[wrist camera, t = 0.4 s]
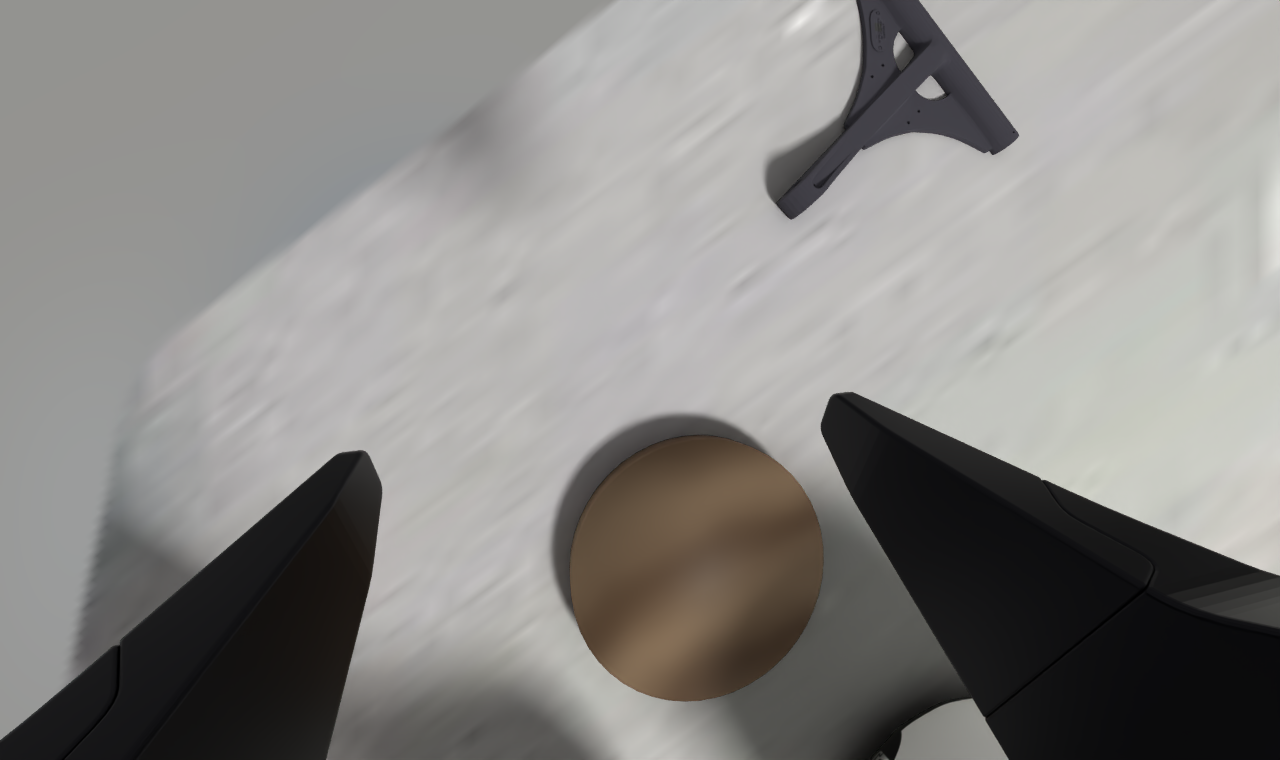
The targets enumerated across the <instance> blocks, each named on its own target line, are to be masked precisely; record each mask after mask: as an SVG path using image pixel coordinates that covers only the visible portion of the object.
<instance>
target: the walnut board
mask: <svg viewBox="0 0 1280 760" xmlns="http://www.w3.org/2000/svg"><path fill="white" fill-rule="evenodd" d="M823 563H824V562H823V543H822V536H821V530H820V527H819V523H818V519H817V516H816V513H815V511H814V509H813V506H812V504H811V502H810V500H809V498H808V497H807V495H806V493H805V492H804V490H803V488H802V487H801V486H800V484H799V483H798V482H797V481H796V479H795V478H794V477H793V476H792V475H791V474H790V473H789V472H788V471H787V470H786V469H785V468H784V467H783V466H782V465H781V464H779V463H778V462H777V461H775V460H774V459H772V458H771V457H770V456H768V455H766V454H764V453H762V452H760V451H758V450H756V449H754V448H752V447H749V446H747V445H745V444H742V443H739V442H736V441H733V440H730V439H727V438H722V437H717V436H707V435H692V436H681V437H677V438H672V439H667V440H664V441H661V442H659V443H656V444H653V445H651V446H649V447H647V448H645V449H643V450H641V451H639V452H637V453H635V454H634V455H632V456H631V457H629V458H628V459H627V460H625V461H624V462H622V463H621V464H620V465H619V466H618V467H617V468H615V469H614V470H613V471H612V472H611V473H610V474H609V475H608V476H607V477H606V478H605V479H604V481H603V482H602V483H601V484H600V485H599V486H598V488H597V489H596V491H595V492H594V494H593V495H592V497H591V498H590V499H589V501H588V503H587V505H586V507H585V509H584V511H583V513H582V515H581V517H580V519H579V522H578V525H577V528H576V531H575V533H574V538H573V543H572V547H571V555H570V567H569V568H570V586H571V597H572V603H573V608H574V613H575V617H576V620H577V623H578V626H579V629H580V632H581V634H582V636H583V638H584V640H585V642H586V644H587V646H588V648H589V649H590V650H591V652H592V653H593V655H594V656H595V657H596V659H597V660H598V661H599V662H600V663H601V665H602V666H603V667H604V668H605V669H606V670H607V671H608V672H609V673H610V674H612V675H613V676H614V677H616V678H617V679H618V680H619V681H621V682H622V683H624V684H625V685H627V686H629V687H631V688H633V689H634V690H636V691H638V692H641V693H644V694H646V695H649V696H652V697H656V698H660V699H665V700H672V701H701V700H706V699H711V698H716V697H720V696H723V695H726V694H729V693H732V692H734V691H736V690H739V689H741V688H743V687H745V686H747V685H749V684H750V683H752V682H754V681H755V680H757V679H758V678H760V677H762V676H763V675H764V674H765V673H767V672H768V671H769V670H770V669H772V668H773V667H774V666H775V665H776V664H777V663H778V662H779V661H780V660H781V659H782V658H783V657H784V656H785V655H786V654H787V653H788V652H789V650H790V649H791V648H792V647H793V645H794V644H795V643H796V641H797V640H798V639H799V637H800V635H801V634H802V632H803V630H804V629H805V627H806V625H807V623H808V621H809V619H810V617H811V615H812V613H813V610H814V607H815V604H816V601H817V598H818V595H819V591H820V586H821V581H822V574H823Z"/></svg>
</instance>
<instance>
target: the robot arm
mask: <svg viewBox="0 0 1280 760" xmlns="http://www.w3.org/2000/svg"><path fill="white" fill-rule="evenodd" d="M821 432H822V435H823V437H824V439H825V442H826V444H827V446H828V448H829V450H830V452H831V454H832V457H833V459H834V461H835V463H836V465H837V467H838V469H839V472H840V474H841V476H842V478H843V480H844V482H845V484H846V486H847V488H848V490H849V492H850V494H851V496H852V498H853V500H854V502H855V503H856V505H857V507H858V508H859V510H860V512H861V513H862V515H863V517H864V518H865V520H866V522H867V523H868V525H869V527H870V528H871V530H872V532H873V533H874V535H875V537H876V538H877V540H878V542H879V543H880V545H881V547H882V548H883V550H884V552H885V553H886V555H887V557H888V559H889V560H890V562H891V564H892V565H893V567H894V569H895V570H896V572H897V574H898V575H899V577H900V579H901V580H902V582H903V584H904V585H905V587H906V589H907V590H908V592H909V594H910V595H911V597H912V599H913V600H914V602H915V604H916V605H917V607H918V609H919V610H920V612H921V614H922V615H923V617H924V619H925V620H926V622H927V624H928V625H929V627H930V629H931V630H932V632H933V634H934V635H935V637H936V639H937V640H938V642H939V644H940V645H941V647H942V649H943V650H944V652H945V654H946V655H947V657H948V659H949V660H950V662H951V664H952V665H953V667H954V669H955V670H956V672H957V674H958V675H959V677H960V679H961V680H962V682H963V684H964V685H965V687H966V689H967V690H968V692H969V694H970V695H971V697H972V699H973V700H974V702H975V704H976V705H977V707H978V709H979V710H980V712H981V714H982V715H983V717H985V721H986V723H987V724H988V726H989V728H990V729H991V731H992V733H993V734H994V736H995V738H996V739H997V741H998V743H999V744H1000V746H1001V748H1002V749H1003V751H1004V753H1005V754H1006V756H1007V758H1008V759H1009V760H1280V576H1279V575H1276V574H1272V573H1269V572H1266V571H1263V570H1260V569H1257V568H1254V567H1252V566H1249V565H1246V564H1244V563H1241V562H1239V561H1236V560H1234V559H1231V558H1229V557H1226V556H1224V555H1222V554H1219V553H1217V552H1214V551H1212V550H1209V549H1207V548H1204V547H1202V546H1199V545H1197V544H1194V543H1192V542H1190V541H1187V540H1185V539H1182V538H1180V537H1177V536H1175V535H1172V534H1170V533H1167V532H1165V531H1162V530H1160V529H1157V528H1155V527H1153V526H1150V525H1148V524H1145V523H1143V522H1140V521H1138V520H1136V519H1133V518H1131V517H1128V516H1126V515H1124V514H1121V513H1119V512H1116V511H1114V510H1112V509H1109V508H1107V507H1104V506H1102V505H1100V504H1098V503H1095V502H1093V501H1091V500H1089V499H1086V498H1084V497H1082V496H1079V495H1077V494H1075V493H1073V492H1070V491H1068V490H1066V489H1064V488H1062V487H1059V486H1057V485H1055V484H1053V483H1051V482H1049V481H1046V480H1041V479H1040V478H1039V477H1037V476H1035V475H1033V474H1031V473H1029V472H1026V471H1024V470H1022V469H1020V468H1018V467H1016V466H1013V465H1011V464H1009V463H1007V462H1005V461H1002V460H1000V459H998V458H996V457H994V456H991V455H989V454H987V453H985V452H983V451H980V450H978V449H976V448H974V447H972V446H970V445H967V444H965V443H963V442H961V441H959V440H956V439H954V438H952V437H950V436H948V435H945V434H943V433H941V432H939V431H937V430H935V429H932V428H930V427H928V426H926V425H924V424H921V423H919V422H917V421H915V420H913V419H910V418H908V417H906V416H904V415H902V414H900V413H897V412H895V411H893V410H891V409H889V408H886V407H884V406H882V405H880V404H878V403H875V402H873V401H871V400H869V399H867V398H864V397H862V396H860V395H858V394H856V393H853V392H844V393H836V394H833V395H832V396H831V397H830V399H829V401H828V404H827V407H826V410H825V413H824V416H823V419H822V422H821ZM381 500H382V485H381V481H380V479H379V477H378V474H377V472H376V470H375V468H374V465H373V463H372V461H371V458H370V456H369V455H368V453H367V452H366V451H363V450H358V451H350V452H342V453H339V454H337V455H335V456H334V457H333V458H332V459H330V460H329V461H328V462H327V463H326V464H325V465H323V466H322V467H321V468H320V469H319V470H318V471H316V472H315V473H314V474H313V475H312V476H311V477H309V478H308V479H307V480H306V481H305V482H304V483H303V484H301V485H300V486H299V487H298V488H297V489H296V490H294V491H293V492H292V493H291V494H290V495H289V496H287V497H286V498H285V499H284V500H283V501H282V502H280V503H279V504H278V505H277V506H276V507H275V508H273V509H272V510H271V511H270V512H269V513H268V514H266V515H265V516H264V517H263V518H262V519H261V520H259V521H258V522H257V523H256V524H255V525H254V526H252V527H251V528H250V529H249V530H248V531H247V532H246V533H244V534H243V535H242V536H241V537H240V538H239V539H237V540H236V541H235V542H234V543H233V544H232V545H230V546H229V547H228V548H227V549H226V550H225V551H223V552H222V553H221V554H220V555H219V556H218V557H216V558H215V559H214V560H213V561H212V562H211V563H209V564H208V565H207V566H206V567H205V568H204V569H202V570H201V571H200V572H199V573H198V574H197V575H195V576H194V577H193V578H192V579H191V580H190V581H189V582H187V583H186V584H185V585H184V586H183V587H182V588H180V589H179V590H178V591H177V592H176V593H175V594H173V595H172V596H171V597H170V598H169V599H168V600H166V601H165V602H164V603H163V604H162V605H161V606H159V607H158V608H157V609H156V610H155V611H154V612H152V613H151V614H150V615H149V616H148V617H147V618H145V619H144V620H143V621H142V622H141V623H140V624H138V625H137V626H136V627H135V628H134V629H133V630H131V631H130V632H129V633H128V634H127V635H126V636H124V637H123V638H122V639H121V641H120V645H115V646H113V647H111V648H110V649H109V650H108V651H107V652H106V653H104V654H103V655H102V656H101V657H100V658H99V659H97V660H96V661H95V662H94V663H93V664H92V665H90V666H89V667H88V668H87V669H86V670H85V671H84V672H82V673H81V674H80V675H79V676H78V677H76V678H75V679H74V680H73V681H72V682H70V683H69V684H68V685H67V686H66V687H64V688H63V689H62V690H61V691H60V692H59V693H57V694H56V695H55V696H54V697H53V698H51V699H50V700H49V701H48V702H47V703H45V704H44V705H43V706H42V707H41V708H39V709H38V710H37V711H36V712H35V713H33V714H32V715H31V716H30V717H29V718H27V719H26V720H25V721H24V722H23V723H21V724H20V725H19V726H18V727H16V728H15V729H14V730H13V731H11V732H10V733H9V734H8V735H6V736H5V737H4V738H3V739H1V740H0V760H326V758H327V754H328V750H329V746H330V742H331V738H332V734H333V730H334V726H335V722H336V718H337V714H338V710H339V706H340V702H341V698H342V694H343V690H344V686H345V682H346V678H347V674H348V670H349V666H350V662H351V658H352V654H353V650H354V646H355V642H356V638H357V634H358V630H359V626H360V622H361V618H362V614H363V610H364V606H365V602H366V598H367V594H368V590H369V586H370V581H371V577H372V571H373V564H374V557H375V548H376V540H377V532H378V524H379V516H380V508H381Z"/></svg>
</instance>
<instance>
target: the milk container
mask: <svg viewBox="0 0 1280 760" xmlns="http://www.w3.org/2000/svg"><path fill="white" fill-rule="evenodd" d="M870 760H1009V759H1008V758H1007V756H1006V754H1005V753H1004V751H1003V749H1002V748H1001V746H1000V744H999V743H998V741H997V739H996V738H995V736H994V734H993V733H992V731H991V729H990V728H989V726H988V724H987V723H986V721H985V717H983V715H982V714H981V712H980V710H979V709H978V707H977V705H976V704H975V702H974V700H973V699H972V697H966V698H960V699H955V700H949V701H946V702H942V703H939V704H937V705H935V706H933V707H931V708H929V709H927V710H926V711H924V712H922V713H920V714H919V715H917V716H915V717H914V718H912V719H910V720H909V721H908V722H906V723H904V724H902V725H901V726H899V728H898V729H897V730H896V731H895V732H894V733H893V734H892V736H891V737H890V738H889V739H888V740H887V741H886V742H885V743H884V744H883V746H882V747H881V748H880V749H879V750H878V751H877V752H876V753H875V754H874V755H873V756H872V757H871V759H870Z"/></svg>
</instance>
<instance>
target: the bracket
mask: <svg viewBox="0 0 1280 760" xmlns="http://www.w3.org/2000/svg"><path fill="white" fill-rule="evenodd" d="M857 4H858V8H859V13H860V18H861V25H862V34H863V72H862V76H861V81H860V85H859V89H858V92H857V95H856V98H855V101H854V104H853V106H852V108H851V111H850V113H849V115H848V117H847V119H846V121H845V123H844V127H845V129H846V130H845V131H844V132H843V134H842V135H841V136H840V137H839V138H838V139H837V140H836V141H835V142H834V143H833V144H832V145H831V146H830V147H829V148H828V149H827V150H826V151H825V152H824V154H823V155H822V156H821V157H820V158H819V159H818V160H817V161H816V162H815V163H814V164H813V165H812V166H811V167H810V168H809V169H808V170H807V171H806V172H805V173H804V174H803V176H802V177H801V178H800V179H799V180H798V181H797V182H796V183H795V184H794V185H793V186H792V187H791V188H790V189H789V190H788V191H787V192H786V193H785V194H784V195H783V197H782V198H781V199H780V200H779V201H778V202H777V205H778V206H779V207H780V208H781V209H782V210H783V211H784V213H785V214H786V215H787V216H788V217H789V218H790V219H794V218H795V217H797V216H798V215H799V214H801V213H802V212H803V211H805V210H806V209H807V208H808V207H809V206H810V205H812V204H813V203H814V202H815V201H816V200H817V199H818V198H819V197H820V196H821V195H822V194H823V193H824V192H825V191H826V190H827V189H828V187H829V186H830V185H831V184H832V182H833V181H834V180H835V179H836V177H837V176H838V175H839V174H840V173H841V171H842V170H843V169H844V168H845V167H846V166H847V164H848V163H849V162H850V161H851V160H852V158H853V157H854V156H855V155H856V154H857V153H858V151H859V150H860V149H861V148H862V149H863V150H865V149H867V148H869V147H871V146H873V145H875V144H877V143H878V142H881V141H883V140H885V139H887V138H890V137H893V136H897V135H901V134H905V133H910V132H920V133H933V134H939V135H943V136H947V137H950V138H953V139H956V140H959V141H961V142H963V143H965V144H968V145H969V146H971V147H973V148H975V149H977V150H979V151H981V152H983V153H986V152H988V151H990V152H991V154H992V155H994V154H997V153H998V152H1000V151H1002V150H1003V149H1005V148H1006V147H1008V146H1009V145H1010V144H1012V143H1013V142H1014V141H1015V140H1016V139H1017V138H1018V137H1019V134H1018V132H1017V131H1016V130H1015V128H1014V127H1013V126H1012V124H1011V123H1010V122H1009V120H1008V119H1007V118H1006V116H1005V115H1004V114H1003V112H1002V111H1001V110H1000V108H999V107H998V106H997V104H996V103H995V102H994V100H993V99H992V98H991V96H990V95H989V94H988V92H987V91H986V90H985V88H984V87H983V86H982V84H981V83H980V82H979V80H978V79H977V78H976V76H975V75H974V74H973V72H972V71H971V70H970V68H969V67H968V66H967V64H966V63H965V62H964V60H963V59H962V58H961V56H960V55H959V54H958V52H957V51H956V50H955V48H954V47H953V46H952V44H951V43H950V42H949V40H948V39H947V38H946V36H945V35H944V34H943V32H942V31H941V30H940V28H939V27H938V25H937V24H936V23H935V21H934V20H933V19H932V17H931V16H930V15H929V13H928V12H927V11H926V9H925V8H924V7H923V5H922V4H921V3H920V1H919V0H857ZM898 32H900V34H901V35H902V36H903V38H904V39H905V40H906V42H907V43H908V44H909V46H910V47H911V48H912V50H913V52H914V57H913V59H912V60H911V61H910V63H909V64H908V65H907V66H906V67H905V68H904V70H903V71H902V72H901V71H900V70H899V69H898V67H897V65H896V62H895V59H894V53H893V45H894V40H895V37H896V35H897V33H898ZM930 75H931V76H932V77H933V78H934V79H935V80H936V81H937V82H938V84H939V85H940V86H941V88H942V89H943V90H944V92H945V93H946V94H947V97H946V98H944V99H942V100H938V101H933V100H928V99H926V98H924V97H922V96H920V95H919V94H918V93H917V92H916V89H917V88H918V87H919V86H920V85H921V84H922V83H923V82H924V81H925V80H926V79H927V78H928V77H929V76H930Z"/></svg>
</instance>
